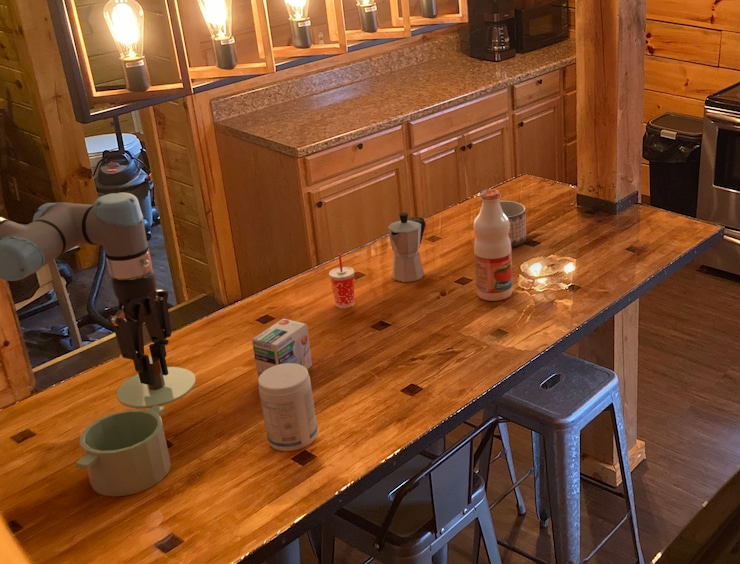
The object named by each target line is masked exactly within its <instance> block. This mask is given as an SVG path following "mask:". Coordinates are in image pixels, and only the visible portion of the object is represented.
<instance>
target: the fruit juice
mask: <svg viewBox="0 0 740 564" xmlns="http://www.w3.org/2000/svg"><path fill="white" fill-rule="evenodd" d="M501 195H502V194H501V191H500V190H499V189H494V188H489V189H483V190H481V192H480V200H481V206H480V210H479V213H478V214H477V215H476V217H475V218H474V221H473V231H474V234H475V239H474V242H473V256H474V257H473V258H474V272H475V273H474V276H475V277H474V278H475V291H476V295H477V297H478V298H479V299H481V300H484V301H488V302H498V301H504V300H507V299H508V298H509V297H511V296H512V294H513V291H514V289H513V287H514V286H513V285H514V283H513V258H512V247H511V241H510V238H509V236H508V234H509V230H510V222H509V219H508V217H507V216H506V215H505V214H504V212H503V211H502V208H501V205H500V202H499V201H500V200H501V197H502V196H501Z"/></svg>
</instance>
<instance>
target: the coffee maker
mask: <svg viewBox="0 0 740 564" xmlns="http://www.w3.org/2000/svg"><path fill="white" fill-rule="evenodd" d="M398 216H399V220H398V221H394V222H391V223H390V224H389V225H388V227H387V232H388V237H389V240H390V246H391V249H392V251H394V253H393V262H392V274H393V276H392V278H393V277H394V278H393V281H394V280H399V281H404V282H408V283H410V282H409V281H415V282H417V281H416V280H418V279H420V278H421V277H423V276H424V275H425V273H424V272H425V271H424V267H423V264H422V260H421V259H422V258H421V256H420V253H419V252H420V251H419V248H420V246H421V244H422V241H423V237H424V233H425V228H426V225H427V224H426V221H425V219H424V217H421V216H418V217H416V218H415V217H413V216H411V217H409V213H408V212H400V213H399V214H398ZM408 219H409V220H408ZM424 277H425V276H424ZM424 277H423V278H424ZM421 279H422V278H421ZM421 279H420V280H421ZM399 281H398V282H399ZM418 281H419V280H418Z"/></svg>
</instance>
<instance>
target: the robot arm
mask: <svg viewBox="0 0 740 564" xmlns="http://www.w3.org/2000/svg"><path fill="white" fill-rule="evenodd" d="M147 239H148V238H147V235H146V228H145V221H144V214H143V212H142V209H141V206H140V202H139V199H138V197H137V196H136V195H134V194H132V193H129V192H116V193H114V192H111V193H108V194H107V193H106V194H104V195H102V196H99V197H98V198H97V199H95V200H94V203H93V204H85V203H71V202H66V201H64V202H63V201H59V202H58V201H57V202H46V203H44V204H42V205H40V206H39V207H37V211H36V212H35V213H34V215H33V218H32V221H31V222H30V223H28V224H26V225H22V224H20V223H18V222H15V221H12V220H10V219H7V218H5V217H3V216H0V279H2V280H3V281H7V282H16V281H20V280H23V279H25V278H27V277H28V276H31V275H33V274H35V273H37V272H39V271H40V270H41V269H42V268H43V267H45V266H46V265H48V264H49V263H51V262H52V261H54V260H55V259H57V258H58V257H61V256H62V255H63V254H66V253H67V252H68V251H70V250H71V249H73V248H75V247H76V246H78V245H92V246H102V248H103V252H104V255H105V256H104V257H105V260H106V261H105V262H106V265H107V269H108V273H109V274H108V275H109V276H110V282H111V287H112V290H113V292H112V293H113V295H114V296H115V297H116V299H117V300H118V305H117V310H118V311H117V312H116V313H115V314H114V316H113V315H110V316H108V318H107V321H108V322H109V324H110V326H112V328H113V331H114V334H115V338H116V341H117V344H118V347H119V350H120V354H121V357H122V358H123V359H127V360H130V361H131V360H132V362H133V365H134V370H135V371H136V372H137V374H139V378H140V382H141V383H142V384H147V385H151V386H152V385H153V384H154V379H153V375H152V370H151V366H150V361H149V357H150V356H158V357H159V358H160V362H161V367H162V372H163V375H165V376H166V375H167V374H168V369H167V367H168V365H167V364H168V363H167V360H166V357H167V350H166V346H167V345H168V344H169V339H167V338H170V337H171V336H172V328H171V321H170V313H169V305H168V300H169V298H168V297H169V291H168V290H165V289H158V288H157V281H156V275H155V271H154V270H153V263H152V258H151V251H150V249H149V248H150V247H149V244H148V240H147ZM143 325H145V329H146V330H147V334H148V336H149V339H150V342H152V343H150V344H149V345H148V346H149V347H148V348H149V352H150V355H148V354H145V343H144V328H143Z"/></svg>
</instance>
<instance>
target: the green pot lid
mask: <svg viewBox="0 0 740 564" xmlns="http://www.w3.org/2000/svg"><path fill="white" fill-rule="evenodd" d="M149 361H150V366H151V370H152V375H153V379H154V384H153V385H152V386H151V385H147V384H142V383H141V382H140V378H139V373H136V374H135V375H133V376H131V377H128V378H127V379H126V380H125V381H124V382H122V383H121V384H120V386H119V387H118V388H117V390H116V398H117V401H118V402H119V403H120V404H121V405H123V406H124V407H127V408H132V409H150V408H151V407H153V406H154V405H157V406H161V407H164V406H166V405H169V404H172V403H175V402H176V401H179V400H180V399H182V398H184V397H185V396H187V395H188V394H189V393H190V392H191V391H193V389H194V387H195V386H196V382H197V380H196V376H195V374H194V373H193V371H191V370H189V369H187V368H185V367H180V366H179V367H178V366H167V369H168V374H167V375H166V376H165V375H163V372H162V367H161V362H160V358H159V357H158V356H151V355H149Z"/></svg>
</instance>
